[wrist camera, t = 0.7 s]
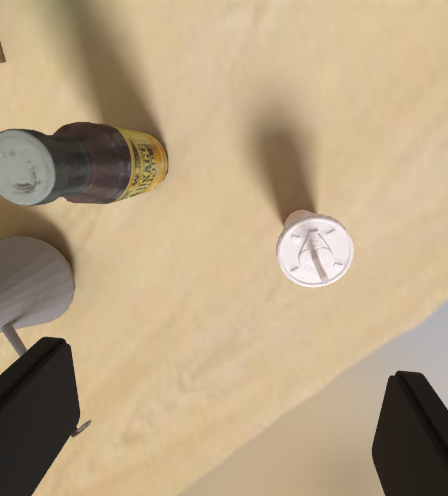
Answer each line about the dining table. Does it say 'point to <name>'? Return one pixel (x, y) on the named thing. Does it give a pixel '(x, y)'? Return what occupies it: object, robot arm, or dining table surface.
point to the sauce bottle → (79, 164)
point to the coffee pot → (32, 288)
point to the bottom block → (1, 55)
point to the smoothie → (314, 249)
